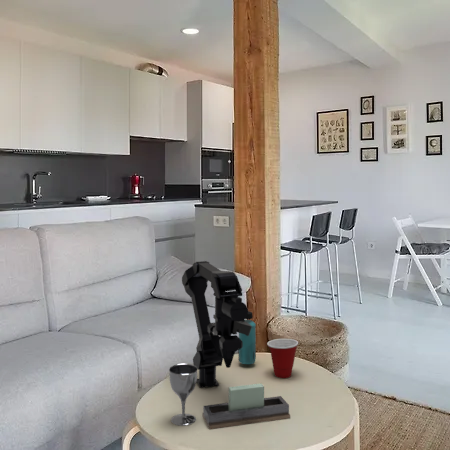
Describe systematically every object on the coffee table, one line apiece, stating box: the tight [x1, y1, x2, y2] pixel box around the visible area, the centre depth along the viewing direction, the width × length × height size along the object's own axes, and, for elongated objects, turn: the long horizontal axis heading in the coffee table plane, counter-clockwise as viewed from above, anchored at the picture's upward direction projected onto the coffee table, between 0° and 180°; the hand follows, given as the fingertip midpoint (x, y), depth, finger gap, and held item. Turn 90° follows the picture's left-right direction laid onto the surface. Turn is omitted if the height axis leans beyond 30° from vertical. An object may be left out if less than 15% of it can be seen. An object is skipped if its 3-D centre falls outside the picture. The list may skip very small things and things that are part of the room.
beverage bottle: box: [237, 310, 257, 365], centre depth 185 cm, size 6×7×20 cm
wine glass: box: [168, 363, 198, 427], centre depth 144 cm, size 8×8×15 cm
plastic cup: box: [266, 338, 299, 379], centre depth 176 cm, size 11×11×12 cm
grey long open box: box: [202, 395, 291, 430], centre depth 146 cm, size 8×24×4 cm, turn 106°
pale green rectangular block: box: [228, 382, 265, 411], centre depth 146 cm, size 2×10×8 cm, turn 106°
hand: (224, 362), depth 156 cm, fingers open, 9 cm apart
